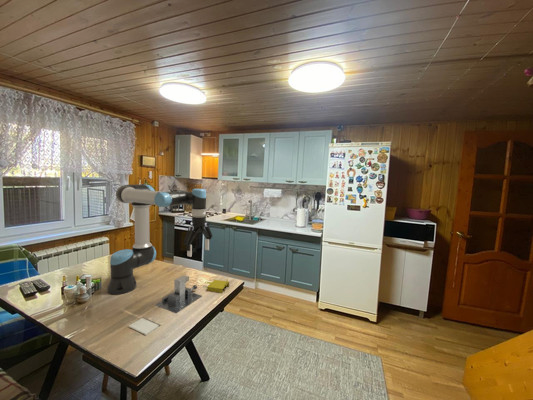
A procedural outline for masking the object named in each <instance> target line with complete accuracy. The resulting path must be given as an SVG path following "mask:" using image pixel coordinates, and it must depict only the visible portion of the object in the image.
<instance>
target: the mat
mask: <svg viewBox="0 0 533 400" xmlns="http://www.w3.org/2000/svg"><path fill="white" fill-rule="evenodd" d="M161 326H162V324H159V323H157V322H155V321H152V320H150V319H148V318H145V317H142V318H140V319H138V320H136V321H134V322H133V323H131V324H129V325H128V328H129V329H133V330H135V331H137V332H139V333H140V334H142V335H144V336H147V335H149V334H150V333H152V332H153V331H155V330H157V329H158V328H159V327H161Z"/></svg>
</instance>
